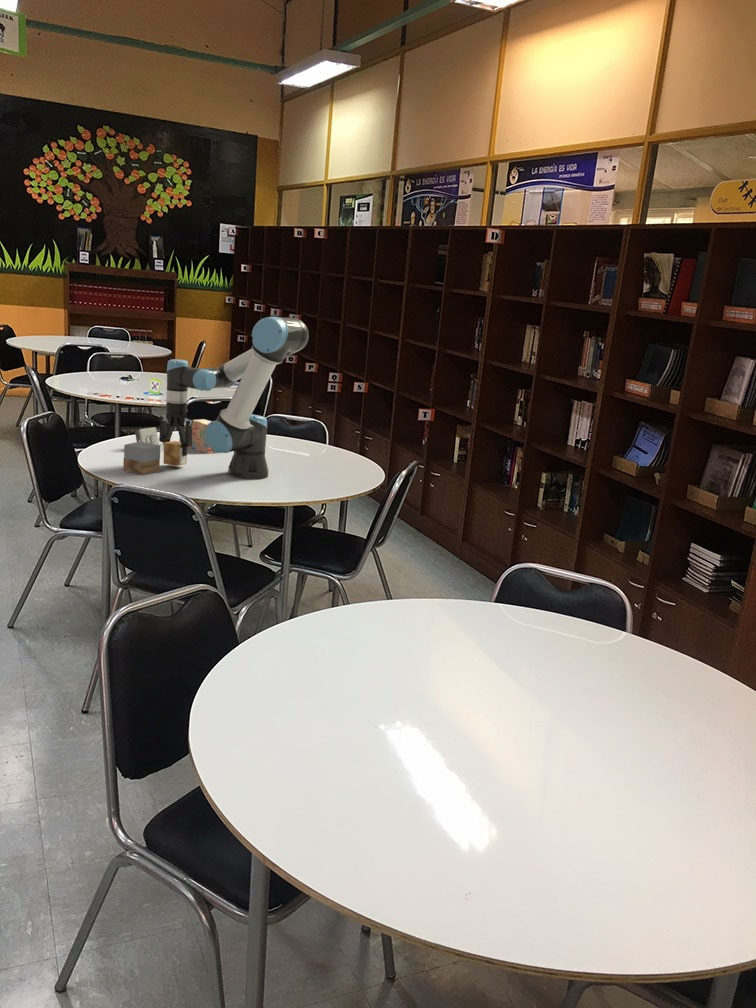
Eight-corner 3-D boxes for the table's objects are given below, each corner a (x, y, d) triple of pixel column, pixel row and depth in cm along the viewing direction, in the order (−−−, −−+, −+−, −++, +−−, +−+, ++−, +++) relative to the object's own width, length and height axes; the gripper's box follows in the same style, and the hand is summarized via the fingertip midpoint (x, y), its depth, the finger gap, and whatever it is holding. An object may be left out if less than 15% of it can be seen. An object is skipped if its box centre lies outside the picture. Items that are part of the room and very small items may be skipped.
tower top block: (160, 458, 304) (160, 445, 303) (144, 462, 296) (144, 448, 294) (140, 454, 307) (140, 441, 306) (124, 458, 299) (124, 444, 298)
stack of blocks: (178, 444, 356) (179, 415, 353) (191, 443, 361) (192, 415, 357) (207, 454, 342) (209, 425, 339) (220, 453, 347) (221, 424, 344)
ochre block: (186, 463, 315) (186, 443, 313) (176, 466, 309) (177, 445, 307) (173, 461, 317) (174, 440, 315) (163, 463, 312) (163, 442, 310)
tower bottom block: (159, 472, 305) (159, 458, 304) (143, 475, 297) (143, 462, 296) (139, 467, 308) (140, 454, 307) (123, 471, 300) (123, 458, 299)
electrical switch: (143, 452, 333) (142, 429, 331) (134, 451, 335) (133, 428, 333) (160, 450, 341) (159, 427, 339) (150, 449, 343) (149, 426, 341)
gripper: (203, 404, 307) (201, 465, 313) (162, 397, 314) (161, 457, 320) (191, 406, 300) (189, 468, 306) (149, 399, 308) (148, 460, 313)
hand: (175, 462), depth 313 cm, fingers closed on ochre block, 6 cm apart
